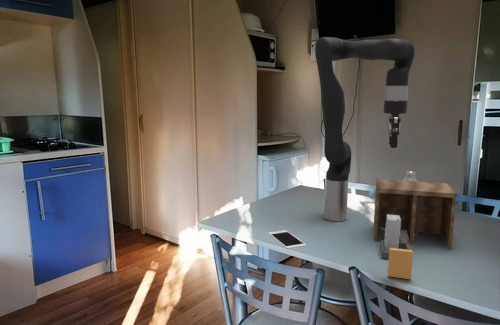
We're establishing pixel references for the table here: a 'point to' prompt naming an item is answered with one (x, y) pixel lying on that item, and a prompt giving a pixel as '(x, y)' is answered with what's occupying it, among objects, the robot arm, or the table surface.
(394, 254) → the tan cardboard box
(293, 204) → the table surface
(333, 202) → the robot arm
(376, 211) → the cubby shelf
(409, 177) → the plastic bottle
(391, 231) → the skincare box
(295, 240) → the cell phone
